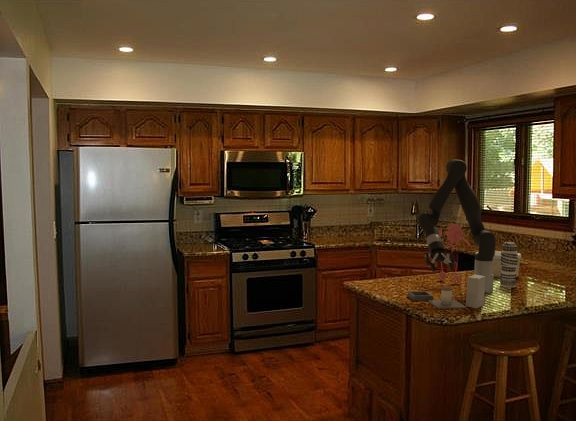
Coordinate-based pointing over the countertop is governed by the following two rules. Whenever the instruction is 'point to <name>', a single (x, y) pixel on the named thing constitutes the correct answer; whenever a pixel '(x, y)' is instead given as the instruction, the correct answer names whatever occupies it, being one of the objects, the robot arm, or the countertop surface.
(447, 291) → the cream jar
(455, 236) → the figurine
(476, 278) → the skincare box
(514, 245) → the decorative candle
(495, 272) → the storage basket
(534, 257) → the countertop surface
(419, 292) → the grey holder
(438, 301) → the slate tile
